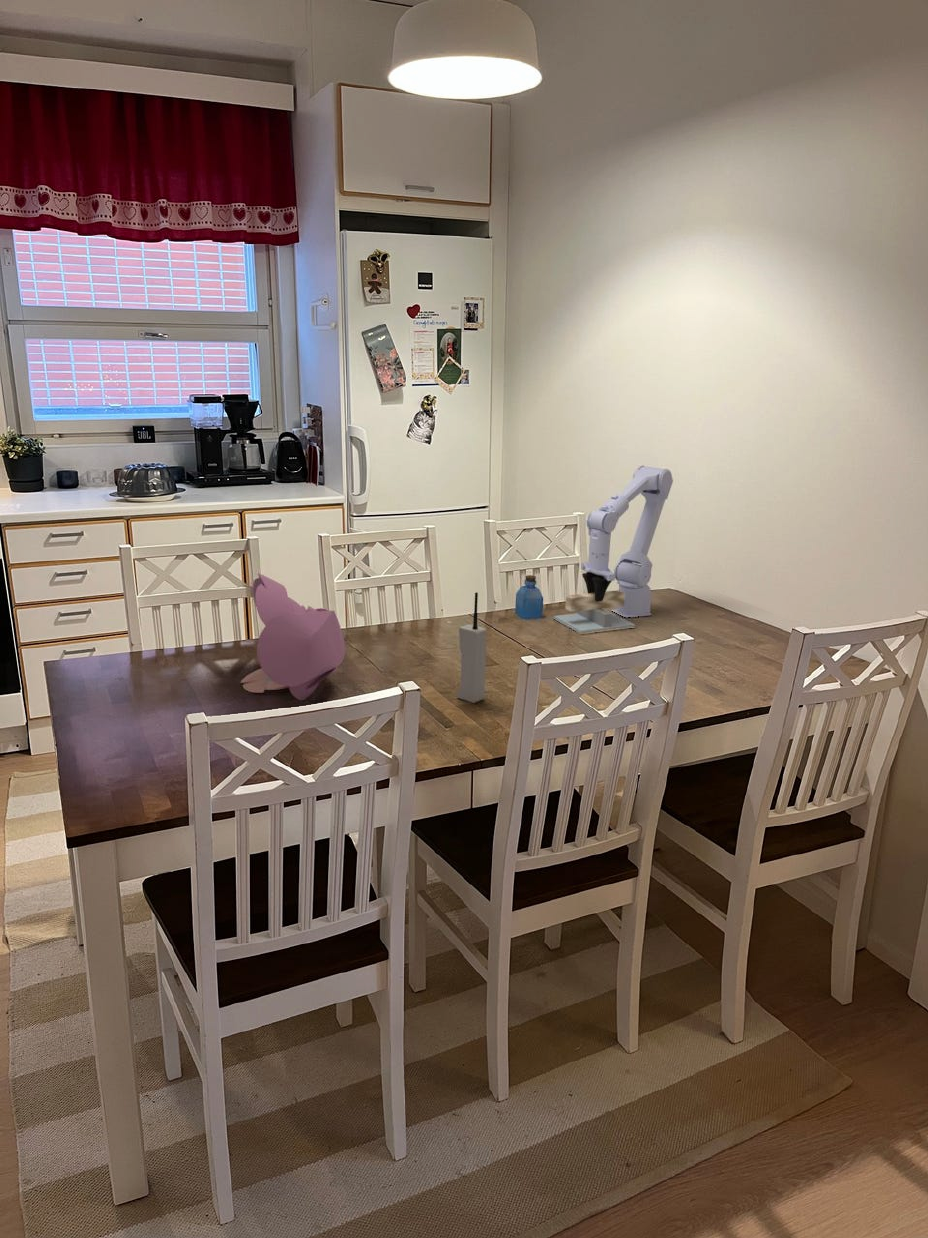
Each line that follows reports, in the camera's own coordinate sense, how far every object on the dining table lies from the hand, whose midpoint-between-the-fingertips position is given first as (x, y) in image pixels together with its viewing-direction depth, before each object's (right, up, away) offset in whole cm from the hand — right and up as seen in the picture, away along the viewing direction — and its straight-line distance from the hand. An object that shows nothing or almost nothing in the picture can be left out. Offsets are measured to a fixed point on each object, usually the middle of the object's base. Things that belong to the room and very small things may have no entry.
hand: (595, 599), depth 263 cm
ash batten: (0, -2, +1) cm, 2 cm away
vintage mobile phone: (-36, -24, -56) cm, 71 cm away
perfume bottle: (-19, -5, +8) cm, 21 cm away
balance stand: (0, -7, +2) cm, 7 cm away
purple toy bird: (-79, -21, -50) cm, 96 cm away
